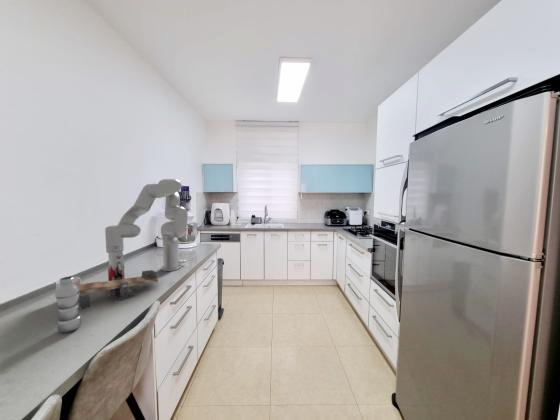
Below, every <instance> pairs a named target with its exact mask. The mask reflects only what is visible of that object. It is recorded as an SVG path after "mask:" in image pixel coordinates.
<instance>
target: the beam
mask: <svg viewBox="0 0 560 420" xmlns="http://www.w3.org/2000/svg"><path fill="white" fill-rule="evenodd" d="M158 281H159V279H158V277H157V272H156V271H154V269H149V270H142V272H141V276H136V277H128V278H125V279H120V280H113V281H108V280H107V281H106V280H105V281H95V282H94V281H93V282H88V283H81V284H79V285H77V286H78V287H79V289H80V293H79V294H85V293H87V294H89V293H95V292H101V291H109V290H112V289H114V288H120V284H121V283H125V282H128V287H132V286H137V285H143V284H149V283H157V282H158Z"/></svg>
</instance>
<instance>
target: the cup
mask: <svg viewBox="0 0 560 420" xmlns="http://www.w3.org/2000/svg"><path fill="white" fill-rule="evenodd" d="M73 277H74V282H73V283H74V284H75V285H79V284H82V281H81V277H80V276H73ZM60 286H61V285H60V279H58V280H56V282H55V293H56V292H57V290H58V289H59V287H60ZM79 295H80V294H79Z"/></svg>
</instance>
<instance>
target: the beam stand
mask: <svg viewBox="0 0 560 420" xmlns="http://www.w3.org/2000/svg"><path fill="white" fill-rule="evenodd" d="M120 279H121V277H117V278H113V280H120ZM106 291H107V295H108V296H109V297H110V298H111V299H112V300H113V302H115V303H117V302H120V301H123V300H126V299H129V298H133V297H135V296H136V292H134V291H133V290H132V289H131V288H129V286H128V282H125V283H121V284H120V288H114V289H108V290H106ZM78 304H79V310H83V309H86V308H90V307H91V305H90V295H89V293H85V294H80V295H79V303H78Z"/></svg>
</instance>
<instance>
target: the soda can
mask: <svg viewBox="0 0 560 420" xmlns="http://www.w3.org/2000/svg"><path fill="white" fill-rule="evenodd" d="M117 269H118V268H116V270H117ZM117 272H118V271H117ZM107 275H108V276H107V277H108V278H107V281H113V278H115V276H116V275H115V271H114V270H113V269H112V266H110V265H109V264H108V268H107ZM122 279H126V278H125V268H124V269H122Z"/></svg>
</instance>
